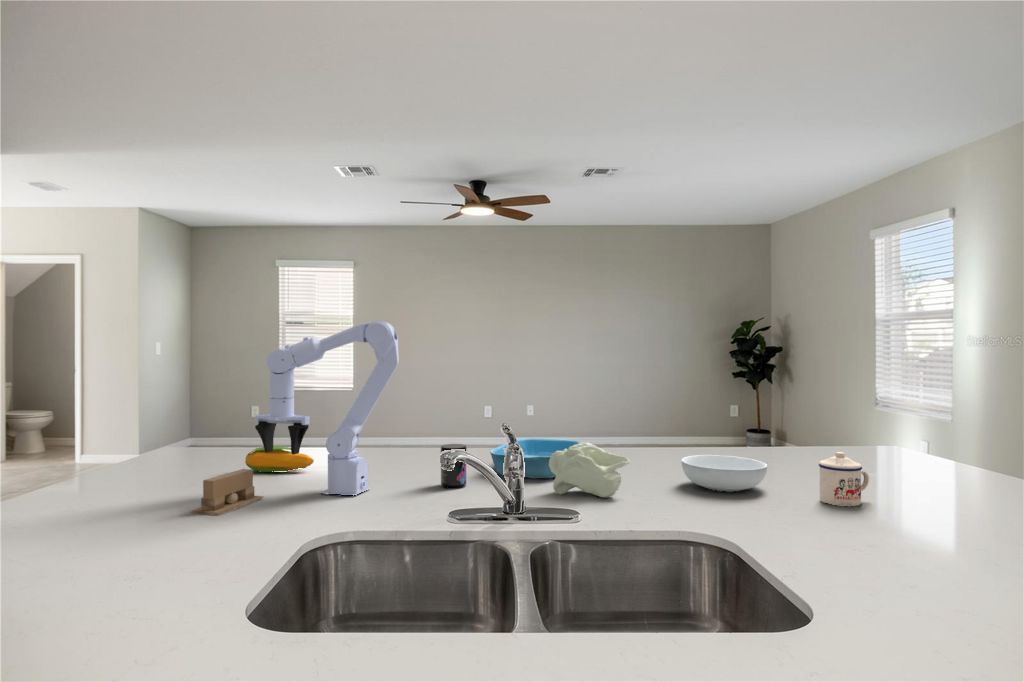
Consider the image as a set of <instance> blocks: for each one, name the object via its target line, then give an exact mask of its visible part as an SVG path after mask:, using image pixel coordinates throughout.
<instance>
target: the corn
mask: <svg viewBox="0 0 1024 682" xmlns="http://www.w3.org/2000/svg"><path fill="white" fill-rule="evenodd" d="M314 459H315V458H312V457H311V456H309V455H308V454H306V453H300V452H299V453H297V454H292V453H291V447H288V446H277V445H275V446H273V451H272V452H268V453H265V449H264V446H262V447H256V448H254V449H253V450H251V451H250V452H249V453H247V455H246V457H245V461H244V462H245V465H246V466H247V468H248V469H253V472H254V471H255V472H257V471H261V472H260V473H262V472H272V471H273V472H274V471H288V470H293V469H298V468H303V469H306V468H308V467H310V466H311V465H312V464H314V462H315V461H314ZM293 471H294V470H293ZM288 472H289V471H288Z"/></svg>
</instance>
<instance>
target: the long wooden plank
mask: <svg viewBox="0 0 1024 682" xmlns="http://www.w3.org/2000/svg"><path fill="white" fill-rule="evenodd" d="M253 475H254V470H253V469H251V468H242V469H237V470H234V471H232V472H231V471H230V472H228V473H227V472H226V473H224V474H221V475H217V476H214V477H210V478H207V479H203V481H202V482H203V483H202V487H203V488H202V490H203V491H202V493H203V494H202V498H204V499H216V498H219V497H222V496H225V495H228V494H231V493H234V492H237V491H240V490H243V489H246V488H249V487H252V486H254V482H253V481H254V480H253V479H254V478H253Z"/></svg>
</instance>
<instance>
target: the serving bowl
mask: <svg viewBox="0 0 1024 682" xmlns="http://www.w3.org/2000/svg"><path fill="white" fill-rule="evenodd" d="M680 461H681V467H682V470H683V473H684V475H685V476H686V478H687V479H688V480H689V481H690V482H692V483H694V484H696V485H698V486H699V487H703V488H706V489H707V488H708V490H710V489H712V490H711V491H715V490H717V491H716V492H722V491H726V492H727V493H733V492H734V491H736V492H741V491H743V490H750V489H752V488H755V487H757V486H758V485H760V484H761V483H762V482H763V481H764V479H765V477H766V475H767V469H768V464H767V463H765V462H763V461H760V460H757V459H752V458H749V457H748V458H747V457H742V456H735V455H733V456H732V455H723V454H722V455H721V454H698V455H697V454H695V455H688V456H686V457H685V456H684V457H682V458H681V460H680Z"/></svg>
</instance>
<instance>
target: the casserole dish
mask: <svg viewBox="0 0 1024 682" xmlns="http://www.w3.org/2000/svg"><path fill="white" fill-rule="evenodd" d="M516 440H517V442H518V444H519V445H520V446H521V448H522V449H523V452H524V455H523V457H524V462H525V477H530V478H529V479H537V478H546V479H545V480H548V479H547V478H549V479H553V477H554V478H556V475H555V474H554V473H553V472H551V469H550V467H549V460H550V458H551V455H552V454H553V453H555V452H556V451H563V450H564V449H567V450H568V449H569V447H570V446H573V445H576V444H579V443H582V441H580V440H573V439H572V440H571V439H564V438H546V437H545V438H541V437H539V438H536V437H535V438H532V437H531V438H518V439H516ZM507 444H508V442H506V443H504V444H502V445H500V446H497V447H496V448H493V449H491V450H490V451H489V453H490V456H491V459H492V462H493V466H494V468H495V471H496V472H497V473H498V474H500V475H501V476H502V477H504V476H503V463H504V457H505V453H504V450H503V448H505V447H506V446H507ZM525 477H524V478H525Z"/></svg>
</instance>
